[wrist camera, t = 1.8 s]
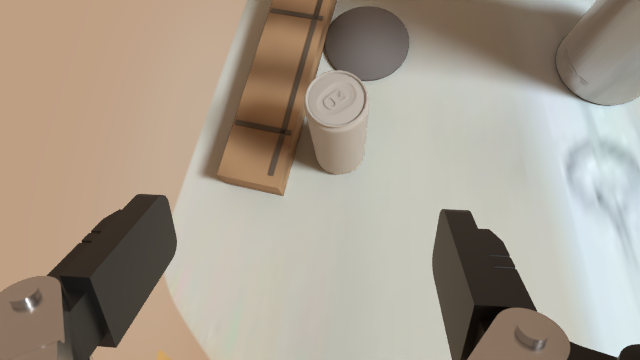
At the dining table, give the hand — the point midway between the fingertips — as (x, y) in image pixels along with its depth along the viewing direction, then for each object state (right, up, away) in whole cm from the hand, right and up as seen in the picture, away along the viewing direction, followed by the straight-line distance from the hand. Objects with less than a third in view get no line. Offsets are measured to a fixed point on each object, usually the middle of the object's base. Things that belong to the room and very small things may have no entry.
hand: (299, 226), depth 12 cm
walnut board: (-3, +12, +31) cm, 33 cm away
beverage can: (+3, +4, +29) cm, 29 cm away
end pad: (+6, +16, +32) cm, 36 cm away
